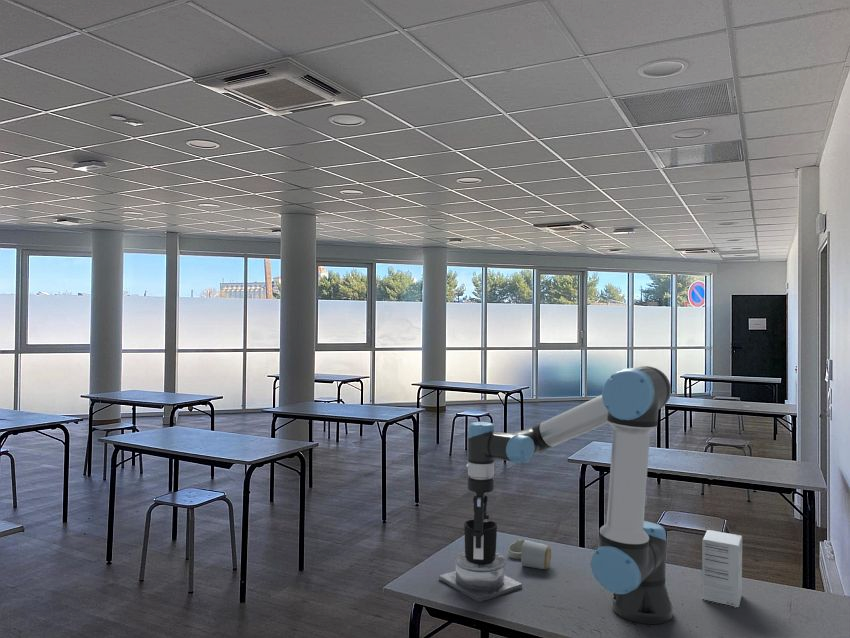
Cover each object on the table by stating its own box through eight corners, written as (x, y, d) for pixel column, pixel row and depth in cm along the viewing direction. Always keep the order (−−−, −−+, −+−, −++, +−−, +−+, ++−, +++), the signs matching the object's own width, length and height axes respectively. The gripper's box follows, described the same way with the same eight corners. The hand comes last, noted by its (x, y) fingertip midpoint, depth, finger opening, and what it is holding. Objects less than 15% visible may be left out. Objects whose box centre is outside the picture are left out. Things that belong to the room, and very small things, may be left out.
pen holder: (478, 567, 173) (478, 531, 173) (457, 557, 181) (457, 522, 181) (503, 560, 179) (503, 525, 179) (482, 550, 186) (482, 516, 186)
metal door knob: (522, 588, 177) (522, 562, 177) (479, 602, 168) (479, 575, 168) (480, 567, 192) (480, 543, 192) (439, 579, 182) (439, 555, 182)
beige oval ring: (532, 551, 205) (532, 536, 205) (539, 559, 199) (539, 543, 199) (505, 553, 203) (505, 538, 203) (511, 561, 197) (512, 545, 197)
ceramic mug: (546, 573, 187) (547, 548, 187) (520, 569, 190) (520, 544, 190) (554, 562, 197) (554, 537, 197) (528, 557, 200) (528, 533, 200)
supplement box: (706, 587, 178) (706, 528, 178) (742, 595, 173) (742, 534, 173) (701, 600, 170) (701, 538, 170) (738, 608, 165) (739, 545, 165)
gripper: (471, 465, 193) (471, 534, 193) (463, 487, 168) (462, 565, 168) (495, 466, 191) (495, 535, 191) (491, 488, 167) (490, 567, 167)
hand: (480, 550), depth 180 cm, fingers open, 13 cm apart
